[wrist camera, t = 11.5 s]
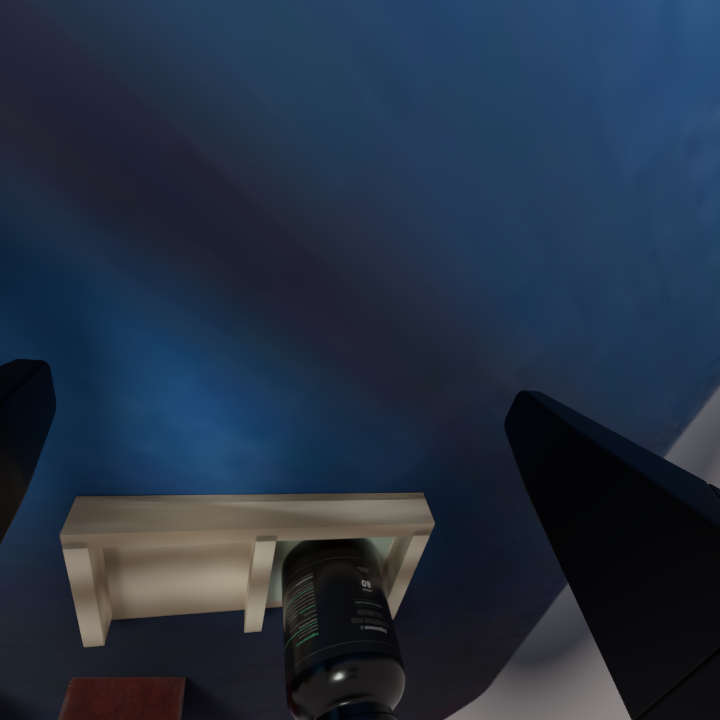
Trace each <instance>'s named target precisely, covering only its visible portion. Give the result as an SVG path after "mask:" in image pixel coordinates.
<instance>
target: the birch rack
mask: <svg viewBox="0 0 720 720" xmlns="http://www.w3.org/2000/svg"><path fill="white" fill-rule="evenodd" d="M434 525H435V522H434V519H433V517H432V514H431V512H430V509H429V507H428V504H427V502H426V499H425V497H424V494H423V493H344V494H248V495H152V496H76V498H75V501H74V503H73V505H72V508H71V510H70V512H69V515H68V517H67V519H66V522H65V524H64V526H63V528H62V531H61V533H60V539H61V544H62V548H63V553H64V558H65V562H66V567H67V572H68V576H69V581H70V586H71V590H72V595H73V600H74V604H75V609H76V613H77V618H78V623H79V627H80V632H81V637H82V641H83V646H84V647H93V646H104V644H105V641H106V637H107V633H108V629H109V626H110V622H111V620H116V619H129V618H142V617H155V616H168V615H181V614H194V613H207V612H219V611H232V610H245V620H244V633H247V632H258V631H261V630H262V624H263V618H264V612H265V608H271V607H282V588H281V569H282V564H283V561H284V559H285V557H286V556H287V554H288V553H289V552H290V550H291V549H292V548H294V547H295V546H296V545H297V544H299V543H300V542H302V541H303V540H322V539H348V538H365V539H366V540H367V541H368V542H369V543H370V544H371V545H372V546H373V548H374V550H375V553H376V556H377V560H378V564H379V567H380V571H381V575H382V579H383V583H384V588H385V592H386V596H387V600H388V604H389V608H390V612H391V616H392V619H394V617H395V615H396V613H397V611H398V608H399V606H400V604H401V601H402V599H403V597H404V594H405V592H406V590H407V587H408V585H409V583H410V580H411V578H412V576H413V574H414V571H415V569H416V567H417V564H418V562H419V560H420V557H421V555H422V553H423V550H424V548H425V546H426V543H427V541H428V539H429V537H430V534H431V532H432V530H433V527H434Z"/></svg>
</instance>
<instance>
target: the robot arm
mask: <svg viewBox="0 0 720 720" xmlns="http://www.w3.org/2000/svg"><path fill="white" fill-rule="evenodd" d="M55 411H56V397H55V391H54V386H53V380H52V375H51V369H50V367H49V365H48V363H47V362H45V361H43V360H30V359H16V360H13V361H11V362H9V363H6V364H4V365H2V366H0V544H1V542H2V541H3V539H4V537H5V535H6V533H7V531H8V529H9V527H10V525H11V523H12V521H13V519H14V517H15V515H16V513H17V511H18V509H19V507H20V505H21V503H22V501H23V499H24V497H25V495H26V492H27V490H28V487H29V485H30V482H31V479H32V477H33V474H34V471H35V468H36V465H37V463H38V460H39V457H40V454H41V451H42V449H43V446H44V443H45V440H46V438H47V435H48V432H49V429H50V426H51V424H52V421H53V418H54V415H55ZM504 427H505V432H506V435H507V438H508V441H509V443H510V446H511V449H512V452H513V455H514V458H515V461H516V464H517V467H518V469H519V472H520V475H521V478H522V481H523V484H524V486H525V489H526V491H527V494H528V496H529V498H530V501H531V503H532V505H533V507H534V509H535V512H536V514H537V516H538V518H539V520H540V522H541V525H542V527H543V529H544V531H545V533H546V535H547V538H548V540H549V542H550V544H551V546H552V548H553V551H554V553H555V555H556V557H557V559H558V561H559V564H560V566H561V568H562V570H563V572H564V574H565V577H566V579H567V581H568V583H569V585H570V587H571V589H572V592H573V594H574V596H575V598H576V600H577V603H578V605H579V607H580V609H581V611H582V613H583V616H584V618H585V620H586V622H587V624H588V627H589V629H590V631H591V633H592V635H593V637H594V639H595V642H596V644H597V646H598V648H599V650H600V652H601V655H602V657H603V659H604V661H605V663H606V666H607V668H608V670H609V672H610V674H611V676H612V678H613V681H614V683H615V685H616V687H617V689H618V691H619V694H620V696H621V698H622V700H623V702H624V705H625V707H626V709H627V711H628V713H629V715H630V717H631V719H632V720H720V489H719V488H717V487H715V486H713V485H712V484H707V483H706V481H704V480H702V479H700V478H699V477H696V476H695V475H693V474H691V473H689V472H687V471H686V470H684V469H682V468H680V467H678V466H676V465H674V464H673V463H671V462H669V461H667V460H665V459H663V458H662V457H660V456H658V455H656V454H654V453H652V452H650V451H649V450H647V449H645V448H643V447H641V446H639V445H637V444H636V443H634V442H632V441H630V440H628V439H626V438H624V437H623V436H621V435H619V434H617V433H615V432H613V431H612V430H610V429H608V428H606V427H604V426H602V425H600V424H599V423H597V422H595V421H593V420H591V419H589V418H587V417H586V416H584V415H582V414H580V413H578V412H576V411H574V410H573V409H571V408H569V407H567V406H565V405H563V404H562V403H560V402H558V401H556V400H554V399H552V398H550V397H549V396H547V395H545V394H543V393H541V392H539V391H528V390H523V391H520V392H519V393H518V394H517V395H516V397H515V399H514V401H513V404H512V406H511V408H510V410H509V412H508V414H507V416H506V419H505V423H504Z"/></svg>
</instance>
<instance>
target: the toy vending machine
mask: <svg viewBox="0 0 720 720" xmlns="http://www.w3.org/2000/svg"><path fill="white" fill-rule="evenodd" d="M185 684H186V677H73V678H71V679H70V682H69V685H68V688H67V692H66V695H65V698H64V701H63V704H62V708H61V711H60V714H59V717H58V720H181V717H182V709H183V700H184V692H185Z"/></svg>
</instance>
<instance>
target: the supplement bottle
mask: <svg viewBox="0 0 720 720" xmlns="http://www.w3.org/2000/svg"><path fill="white" fill-rule="evenodd" d="M281 588H282V610H283V633H284V655H285V677H286V695H287V705H288V708H289V711H290V713H291V715H292V717H293V718H294V719H295V720H398V718H397V716H395V715H394V714H392V710H393V709H394V708H395V707H396V705H397V704H398V702H399V701H400V699H401V697H402V695H403V691H404V687H405V680H406V679H405V670H404V665H403V661H402V657H401V653H400V649H399V645H398V641H397V637H396V633H395V628H394V624H393V620H392V616H391V612H390V608H389V604H388V600H387V596H386V592H385V588H384V583H383V579H382V575H381V571H380V567H379V564H378V560H377V556H376V553H375V550H374V548H373V546H372V545H371V544H370V543H369V542H368V541H367V540H366V539H365V538H348V539H322V540H303V541H302V542H300V543H299V544H297V545H296V546H295V547H294V548H292V549H291V550H290V552H289V553H288V554H287V556H286V557H285V559H284V561H283V564H282V569H281Z"/></svg>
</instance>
